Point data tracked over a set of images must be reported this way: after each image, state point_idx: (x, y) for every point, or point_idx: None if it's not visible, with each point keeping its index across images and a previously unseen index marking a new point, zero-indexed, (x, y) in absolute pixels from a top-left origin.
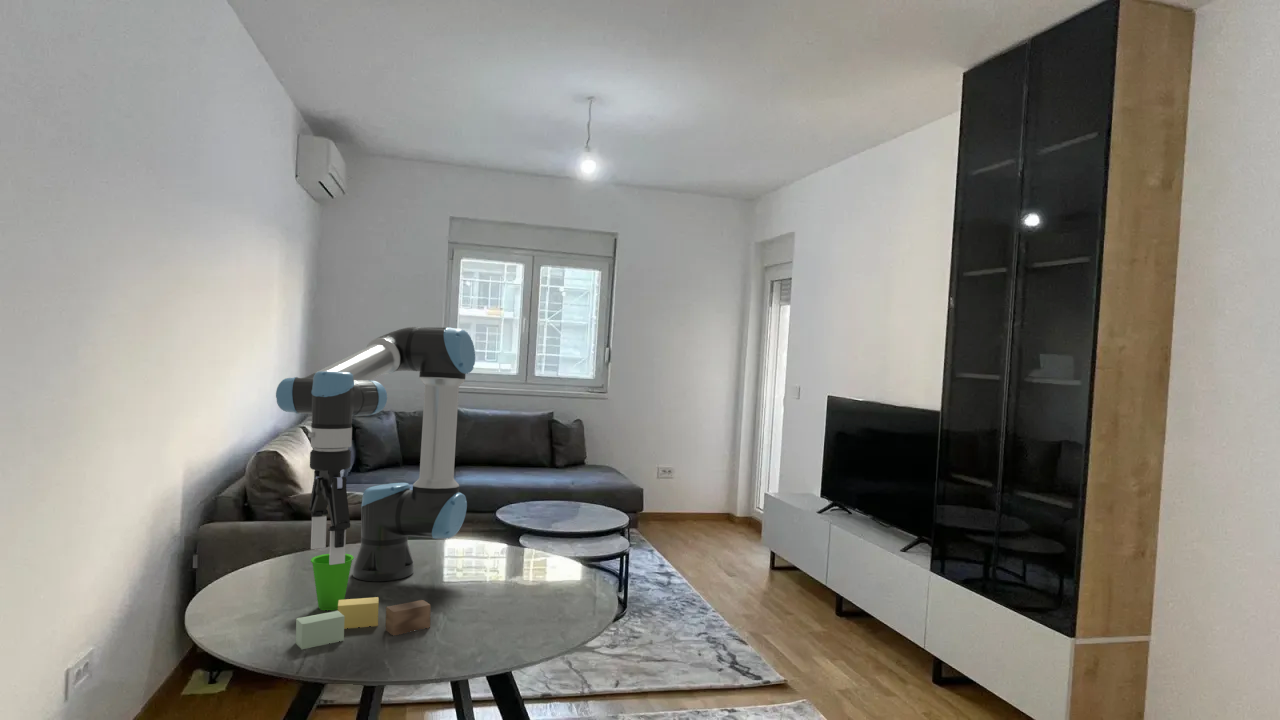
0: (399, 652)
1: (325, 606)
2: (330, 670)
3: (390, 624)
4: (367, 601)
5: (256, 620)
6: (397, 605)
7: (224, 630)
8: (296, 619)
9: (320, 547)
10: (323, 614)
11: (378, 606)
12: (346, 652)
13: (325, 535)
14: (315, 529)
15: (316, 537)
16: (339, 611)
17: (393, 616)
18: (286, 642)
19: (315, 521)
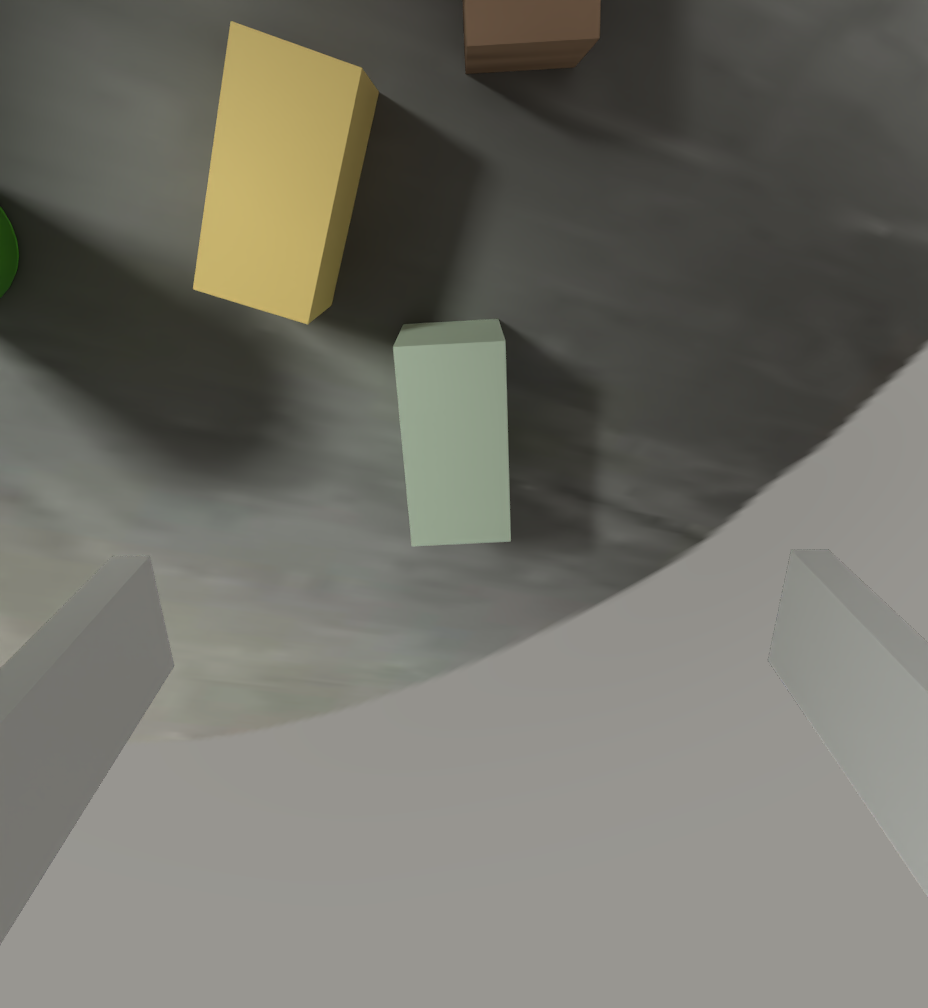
0: (812, 123)
1: (6, 287)
2: (786, 452)
3: (540, 60)
4: (296, 130)
5: (65, 573)
6: None
7: None
8: (416, 544)
9: (153, 602)
10: (418, 427)
11: (364, 72)
12: (647, 348)
13: (87, 633)
14: (69, 792)
15: (112, 707)
16: (316, 310)
17: (593, 44)
18: (393, 525)
19: (5, 890)
